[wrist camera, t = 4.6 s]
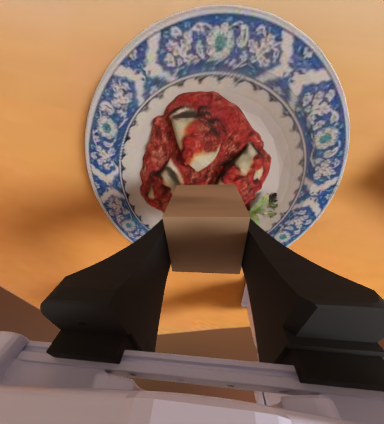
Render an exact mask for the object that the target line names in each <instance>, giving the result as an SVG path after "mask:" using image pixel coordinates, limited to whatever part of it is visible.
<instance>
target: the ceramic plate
mask: <svg viewBox="0 0 384 424" xmlns="http://www.w3.org/2000/svg"><path fill="white" fill-rule="evenodd" d="M349 139H350V120H349V112H348V107H347V103H346V98H345V94H344V91H343V89H342V86H341V83H340V80H339V78H338V76H337V74H336V72H335V70H334V68H333V66H332V64H331V63H330V61H329V60H328V59H327V57H326V56H325V54H324V53H323V52H322V50H321V49H320V48H319V46H318V45H317V44H316V43H315V42H314V41H313V40H312V39H311V38H310V37H309V36H307V35H306V34H305V33H304V32H302V31H301V30H300V29H298V28H297V27H295V26H294V25H293V24H291V23H290V22H288V21H286V20H284V19H282V18H280V17H278V16H276V15H274V14H272V13H270V12H267V11H264V10H260V9H257V8H253V7H247V6H240V5H234V4H227V5H204V6H199V7H193V8H190V9H187V10H184V11H181V12H177V13H174V14H172V15H170V16H168V17H166V18H164V19H162V20H160V21H158V22H156V23H153V24H152V25H150V26H149V27H147V28H146V29H145V30H143V31H142V32H140V33H139V34H138V35H137V36H136V37H135V38H133V39H132V40H131V41H130V42H129V43H128V44H127V45H126V46H125V47H124V48H123V49H122V50H121V51H120V52H119V54H118V55H117V56H116V57H115V58H114V59H113V60H112V62H111V63H110V65H109V66H108V68H107V70H106V71H105V73H104V75H103V76H102V78H101V80H100V82H99V84H98V86H97V88H96V91H95V93H94V96H93V99H92V101H91V105H90V109H89V112H88V116H87V123H86V130H85V158H86V164H87V170H88V174H89V179H90V182H91V185H92V188H93V191H94V193H95V196H96V198H97V200H98V202H99V204H100V206H101V207H102V209H103V211H104V212H105V214H106V215H107V217H108V218H109V220H110V221H111V222H112V224H113V225H114V226H115V227H116V228H117V229H118V231H119V232H120V233H121V234H122V235H123V236H124V237H125V238H126V239H128V240H129V241H130V242H131V243H134V242H135V241H136V240H138V239H139V238H140V237H142V236H143V235H144V234H145V233H147V232H148V231H149V230H150V229H151V228H153V227H154V226H155V225H156V224H157V223H158V222H159V221H160V220H161V219H162V216H163V214H164V212H165V210H166V208H167V205H168V203H169V201H170V199H171V197H172V195H173V192H174V190H175V188H176V186H177V185H220V184H235V185H236V187H237V189H238V191H239V193H240V196H241V198H242V200H243V202H244V204H245V206H246V208H247V211H248V213H249V215H250V218H251V219H252V220H253V221H254V222H255V223H256V224H257V225H258V226H260V227H261V228H262V229H263V230H264V231H265V232H267V233H268V234H269V235H270V236H272V237H273V238H274V239H276V240H277V241H278V242H280V243H281V244H283V245H284V246H286V247H288V246H290V245H291V244H292V243H294V242H295V241H296V240H297V239H299V238H300V237H301V236H302V235H303V234H304V233H305V232H306V231H307V230H308V229H309V228H310V227H311V226H312V225H313V224H314V223H315V222H316V221H317V220H318V219H319V218H320V216H321V215H322V214H323V212H324V211H325V209H326V208H327V206H328V204H329V203H330V201H331V199H332V198H333V196H334V194H335V192H336V190H337V188H338V186H339V184H340V181H341V178H342V175H343V172H344V168H345V164H346V161H347V155H348V149H349ZM241 267H242V266H241Z"/></svg>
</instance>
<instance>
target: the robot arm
mask: <svg viewBox="0 0 384 424" xmlns="http://www.w3.org/2000/svg"><path fill="white" fill-rule="evenodd" d="M170 265H171V260H170V255H169V250H168V245H167V239H166V234H165V229H164V223H163V218H162V219H161V220H160V221H159V222H158V223H157V224H156V225H155V226H154V227H153V228H151V229H150V230H149V231H148V232H147V233H145V234H144V235H143V236H142V237H140V238H139V239H138V240H136V241H135V242H134V243H132V244H131V245H129V246H128V247H126V248H124V249H123V250H121V251H119V252H117V253H116V254H114V255H112V256H110V257H109V258H107V259H105V260H103V261H101V262H99V263H96V264H94V265H92V266H90V267H88V268H85V269H83V270H81V271H78V272H76V273H73V274H71V275H69V276H66V277H65V278H64V279H63V280H62V281H61V282H60V283H59V285H58V286H57V287H56V288H55V289H54V290H53V291H52V292H51V293H50V295H49V296H48V297H47V298H46V299H45V300H44V301H43V302H42V303H41V306H40V310H41V312H42V314H43V315H44V316H45V317H46V318H47V319H49V320H50V321H51V322H52V323H53V324H55V325H56V326H57V327H58V328H59V329H61V331H60V332H59V334H58V335H57V336H56V338H55V339H54V341H53V342H52V343H48V342H36V341H29V340H28V339H27V338H26V337H25V336H23V335H21V334H18V333H14V332H5V331H0V424H384V360H383V358H382V357H384V350H383V349H382V348H381V347H380V345H379V344H378V343H377V342H378V341H379V340H381V339H383V338H384V300H383V299H382V298H381V297H380V296H379V295H378V294H377V293H376V292H375V291H374V290H372V289H370V288H367V287H365V286H363V285H360V284H358V283H355V282H353V281H351V280H348V279H346V278H344V277H341V276H339V275H337V274H335V273H333V272H331V271H329V270H327V269H325V268H322V267H321V266H319V265H317V264H315V263H313V262H311V261H309V260H307V259H306V258H304V257H302V256H300V255H298V254H297V253H295V252H293V251H292V250H290V249H289V248H287V247H286V246H284V245H283V244H281V243H280V242H278V241H277V240H276V239H274V238H273V237H272V236H270V235H269V234H268V233H267V232H265V231H264V230H263V229H262V228H261V227H260V226H258V225H257V224H256V223H255V222H254V221H253V220H252V219H251V218H250V222H249V227H248V232H247V238H246V243H245V248H244V254H243V259H242V264H241V266H242V269H243V273H244V276H245V280H246V284H245V288H244V292H243V297H242V301H241V306H242V307H247V312H248V317H249V321H250V326H251V330H252V335H253V339H254V343H255V346H256V348H257V350H258V353H257V355H258V359H259V361H256V362H251V361H240V360H229V359H219V358H208V357H197V356H187V355H175V354H166V353H155V346H156V339H157V332H158V325H159V319H160V313H161V307H162V301H163V295H164V290H165V285H166V279H167V275H168V272H169V268H170ZM121 376H126V377H134V378H144V379H153V380H162V381H170V382H179V383H188V384H197V385H206V386H215V387H224V388H233V389H242V390H250V391H254V393H255V399H256V403H257V404H256V403H251V402H245V401H239V400H232V399H225V398H218V397H210V396H202V395H193V394H183V393H171V392H158V391H145V390H143V389H141V388H139V387H138V386H137V385H136V384H135V381H134V380H132V379H128V378H125V377H121Z"/></svg>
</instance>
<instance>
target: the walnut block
mask: <svg viewBox="0 0 384 424" xmlns="http://www.w3.org/2000/svg"><path fill="white" fill-rule="evenodd" d="M162 218H163V223H164V229H165V234H166V239H167V245H168V250H169V255H170V260H171V266H172V271H177V272H202V273H227V274H240V270H241V264H242V259H243V254H244V248H245V243H246V238H247V232H248V227H249V222H250V215H249V213H248V211H247V208H246V206H245V204H244V202H243V200H242V198H241V196H240V193H239V191H238V189H237V187H236V185H235V184H220V185H177V186H176V188H175V190H174V192H173V195H172V197H171V199H170V201H169V203H168V205H167V208H166V210H165V212H164V214H163V216H162Z"/></svg>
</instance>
